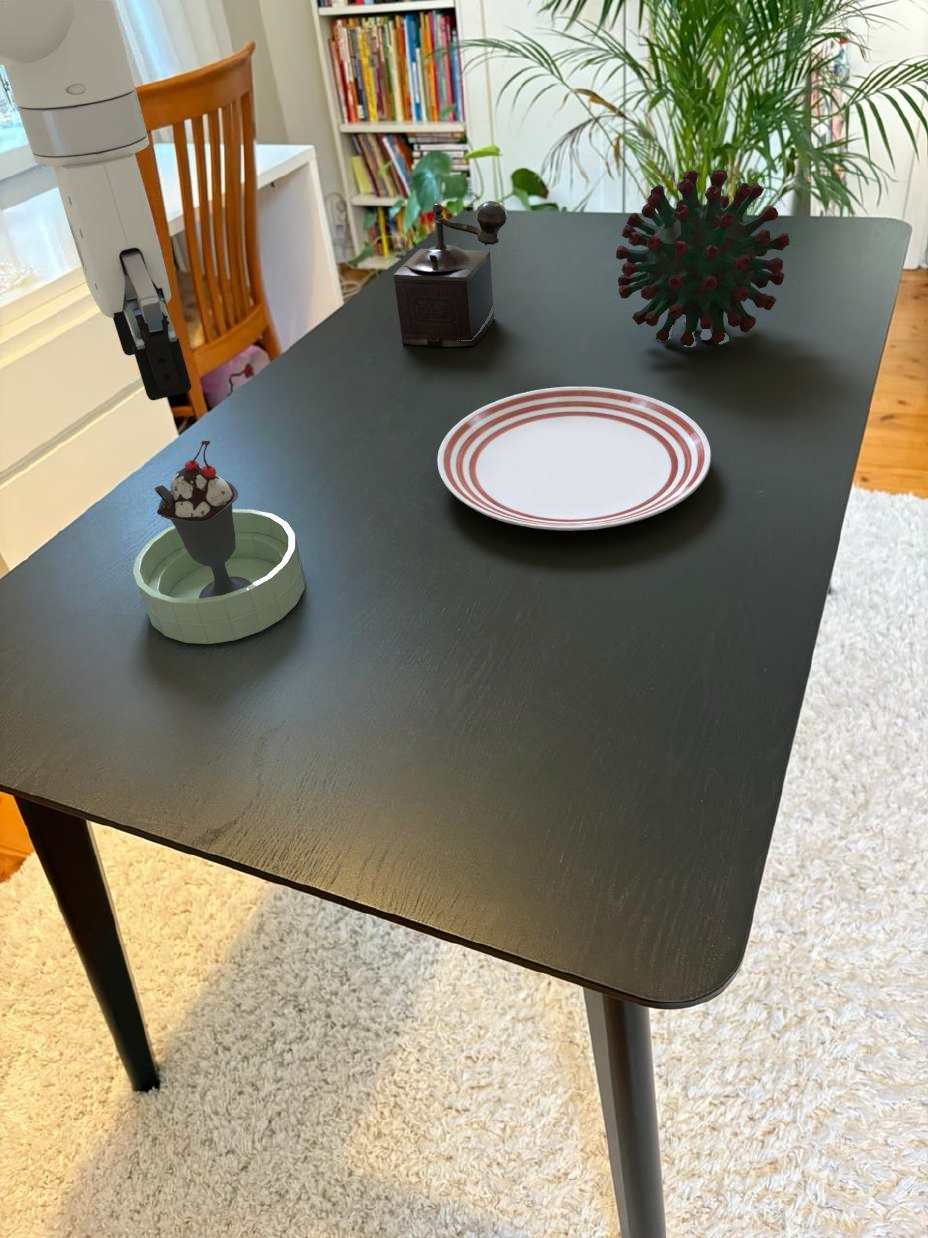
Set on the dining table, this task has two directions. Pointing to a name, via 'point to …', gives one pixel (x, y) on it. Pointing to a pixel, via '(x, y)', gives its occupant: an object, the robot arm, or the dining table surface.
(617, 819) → the dining table surface
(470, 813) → the dining table surface
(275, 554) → the bowl
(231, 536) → the sundae
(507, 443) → the dinner plate
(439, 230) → the coffee grinder
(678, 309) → the virus model
